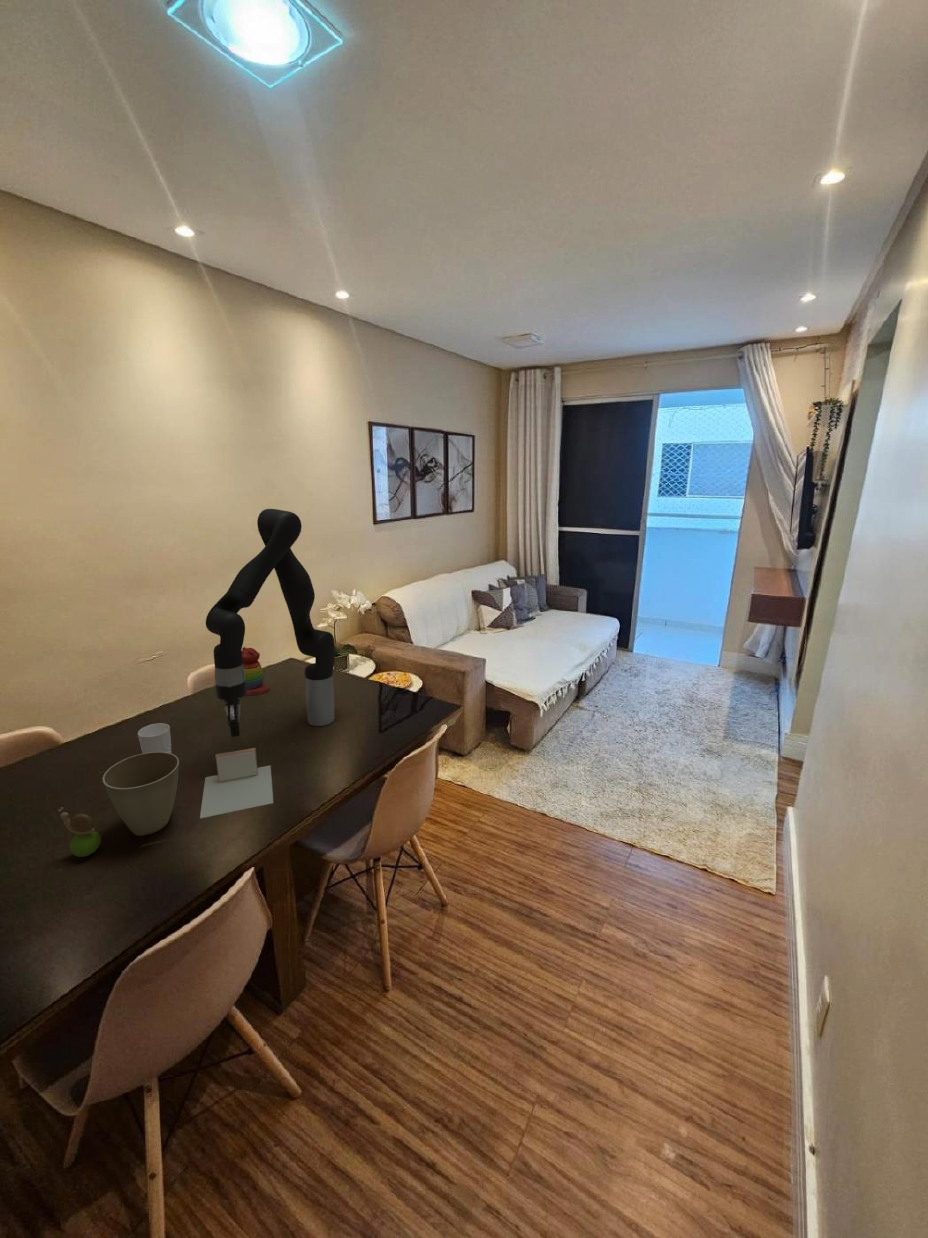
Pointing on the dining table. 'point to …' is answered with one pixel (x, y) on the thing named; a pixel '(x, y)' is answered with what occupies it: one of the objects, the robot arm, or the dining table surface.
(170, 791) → the plant pot
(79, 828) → the snail figurine
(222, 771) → the tile
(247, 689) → the stacking bear
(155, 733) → the white cup
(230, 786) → the mat
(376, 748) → the dining table surface
